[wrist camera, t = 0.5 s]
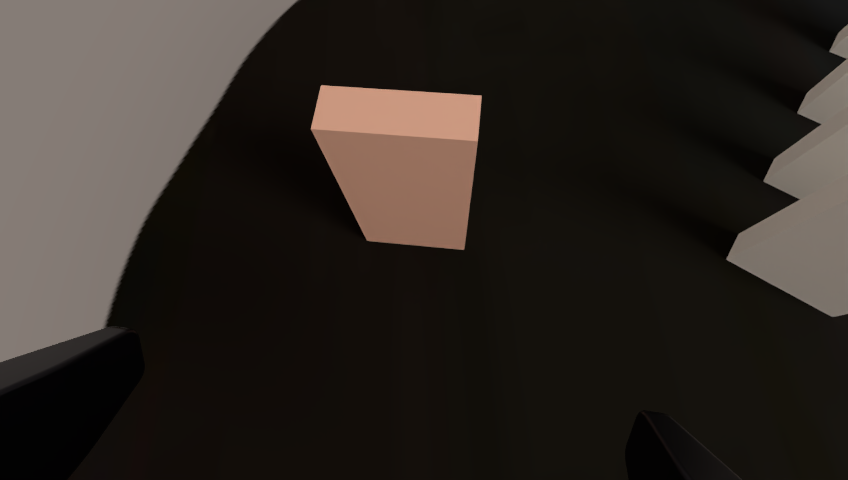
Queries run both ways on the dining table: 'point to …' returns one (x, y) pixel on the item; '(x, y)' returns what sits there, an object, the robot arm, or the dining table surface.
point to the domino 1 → (402, 160)
